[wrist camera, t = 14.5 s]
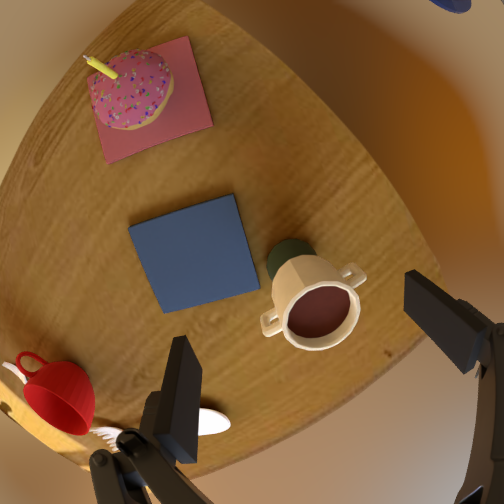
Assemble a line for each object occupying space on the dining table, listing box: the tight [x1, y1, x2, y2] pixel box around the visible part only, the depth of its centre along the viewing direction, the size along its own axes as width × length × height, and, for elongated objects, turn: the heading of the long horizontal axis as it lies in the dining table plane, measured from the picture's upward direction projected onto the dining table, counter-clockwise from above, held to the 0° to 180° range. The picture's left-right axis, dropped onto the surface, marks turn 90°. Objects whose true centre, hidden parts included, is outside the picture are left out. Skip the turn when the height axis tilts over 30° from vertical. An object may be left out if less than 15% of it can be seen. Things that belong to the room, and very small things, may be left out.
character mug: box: [260, 239, 367, 350], centre depth 28 cm, size 11×7×13 cm, turn 121°
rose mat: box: [87, 36, 214, 164], centre depth 25 cm, size 13×12×1 cm
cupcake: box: [83, 49, 174, 130], centre depth 19 cm, size 9×8×12 cm
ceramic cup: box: [16, 351, 95, 435], centre depth 33 cm, size 13×17×10 cm
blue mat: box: [128, 193, 260, 314], centre depth 32 cm, size 13×12×1 cm
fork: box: [2, 362, 27, 384], centre depth 39 cm, size 3×20×2 cm, turn 37°
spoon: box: [89, 408, 230, 451], centre depth 42 cm, size 9×32×4 cm, turn 113°
